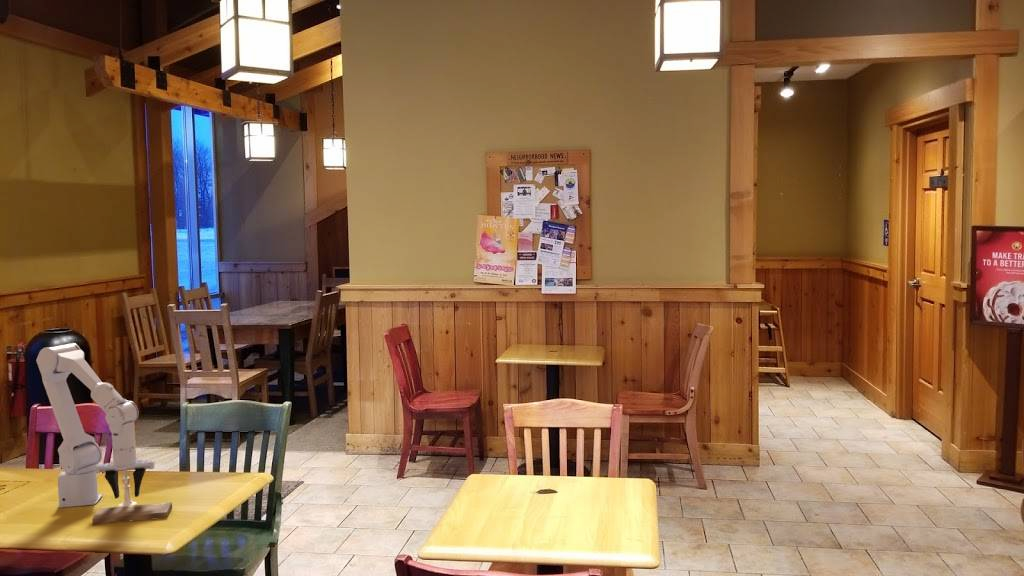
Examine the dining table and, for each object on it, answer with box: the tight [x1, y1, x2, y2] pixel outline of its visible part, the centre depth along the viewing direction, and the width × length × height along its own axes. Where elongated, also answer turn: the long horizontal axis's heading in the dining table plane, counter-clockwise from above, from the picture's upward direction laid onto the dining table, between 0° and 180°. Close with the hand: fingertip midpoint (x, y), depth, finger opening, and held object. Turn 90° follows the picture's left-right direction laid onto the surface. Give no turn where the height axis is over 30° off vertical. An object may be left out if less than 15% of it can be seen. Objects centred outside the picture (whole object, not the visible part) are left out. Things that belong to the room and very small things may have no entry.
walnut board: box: [91, 501, 173, 525], centre depth 228 cm, size 18×8×2 cm, turn 102°
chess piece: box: [117, 470, 138, 507], centre depth 235 cm, size 5×5×10 cm
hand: (127, 496), depth 235 cm, fingers open, 4 cm apart
